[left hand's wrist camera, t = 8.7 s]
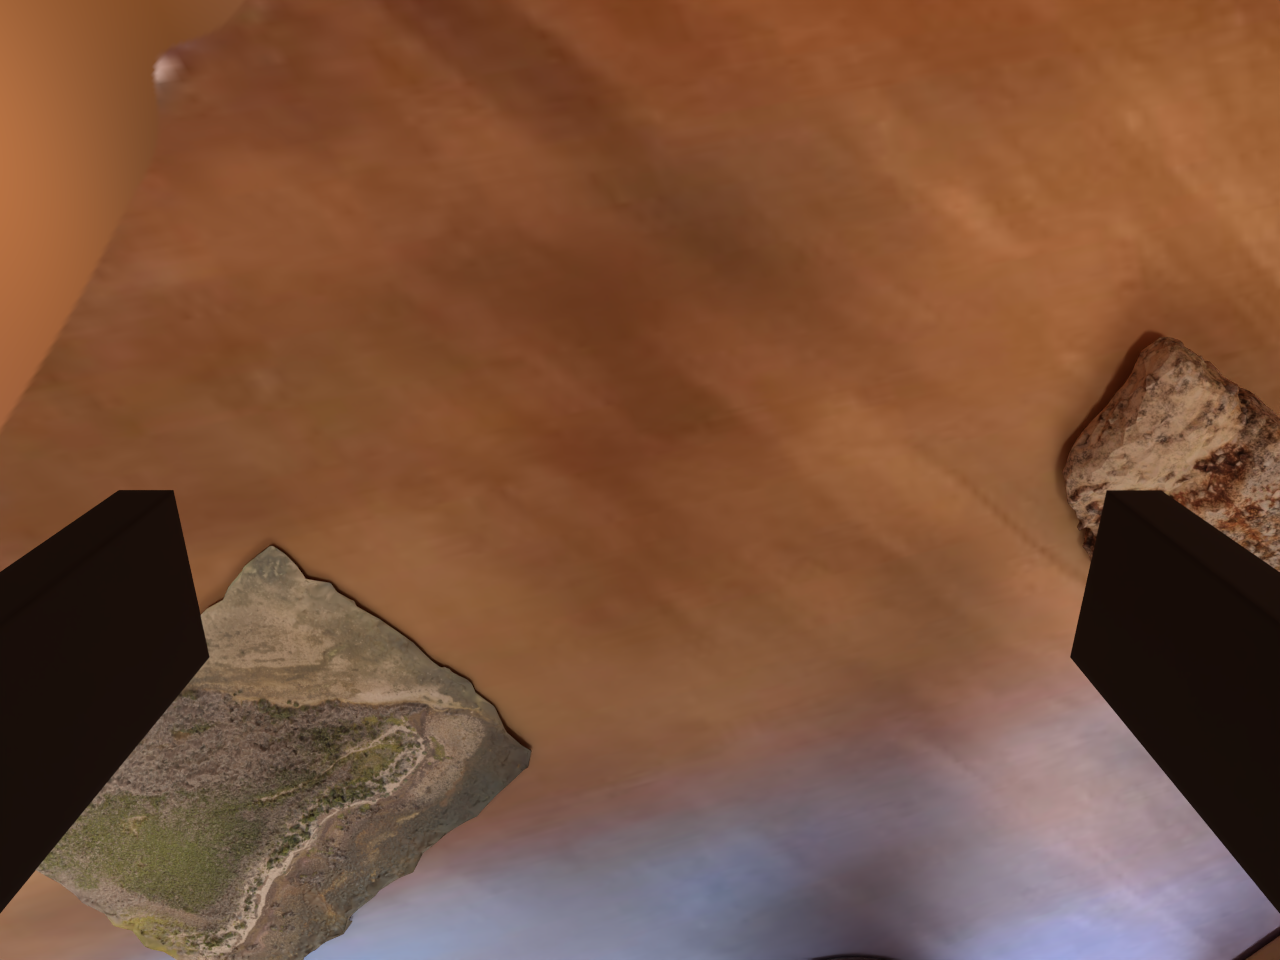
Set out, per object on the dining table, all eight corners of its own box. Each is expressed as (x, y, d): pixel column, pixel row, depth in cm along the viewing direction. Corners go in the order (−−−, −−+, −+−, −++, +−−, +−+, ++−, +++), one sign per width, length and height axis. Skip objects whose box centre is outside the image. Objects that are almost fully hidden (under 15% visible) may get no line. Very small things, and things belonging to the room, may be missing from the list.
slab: (275, 1007, 55) (269, 1021, 55) (-16, 847, 51) (-27, 860, 50) (555, 741, 48) (553, 752, 47) (243, 521, 43) (235, 529, 42)
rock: (1373, 496, 42) (1480, 549, 37) (1212, 646, 45) (1289, 714, 40) (1155, 322, 39) (1238, 353, 34) (997, 496, 42) (1050, 550, 37)
